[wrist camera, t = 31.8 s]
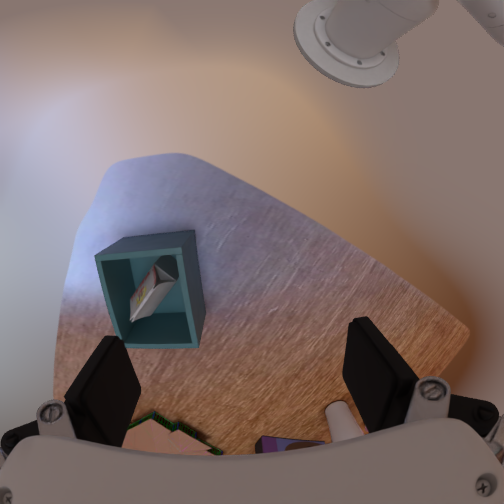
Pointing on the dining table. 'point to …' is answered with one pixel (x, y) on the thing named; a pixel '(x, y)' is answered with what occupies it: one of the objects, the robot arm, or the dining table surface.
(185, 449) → the house
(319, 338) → the dining table surface
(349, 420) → the drinking glass
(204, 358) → the dining table surface
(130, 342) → the waste bin
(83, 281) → the dining table surface
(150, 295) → the tea bag
